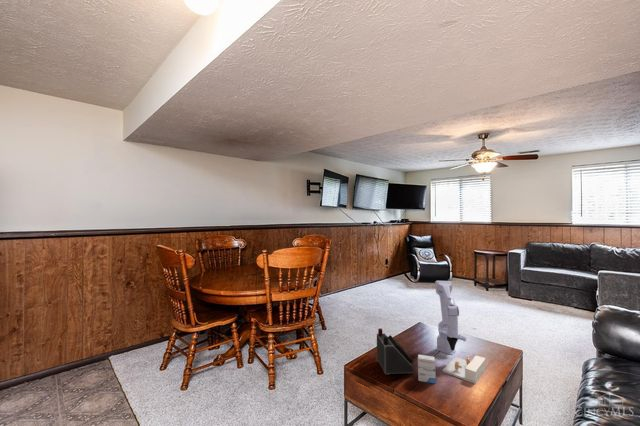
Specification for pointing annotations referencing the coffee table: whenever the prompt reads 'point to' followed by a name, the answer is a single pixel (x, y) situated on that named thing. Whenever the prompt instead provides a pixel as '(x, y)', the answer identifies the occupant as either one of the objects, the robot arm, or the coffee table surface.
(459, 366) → the knob
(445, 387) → the coffee table surface
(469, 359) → the knob
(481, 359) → the panel mount
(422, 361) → the ink box
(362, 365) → the coffee table surface
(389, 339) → the dark wedge stand
